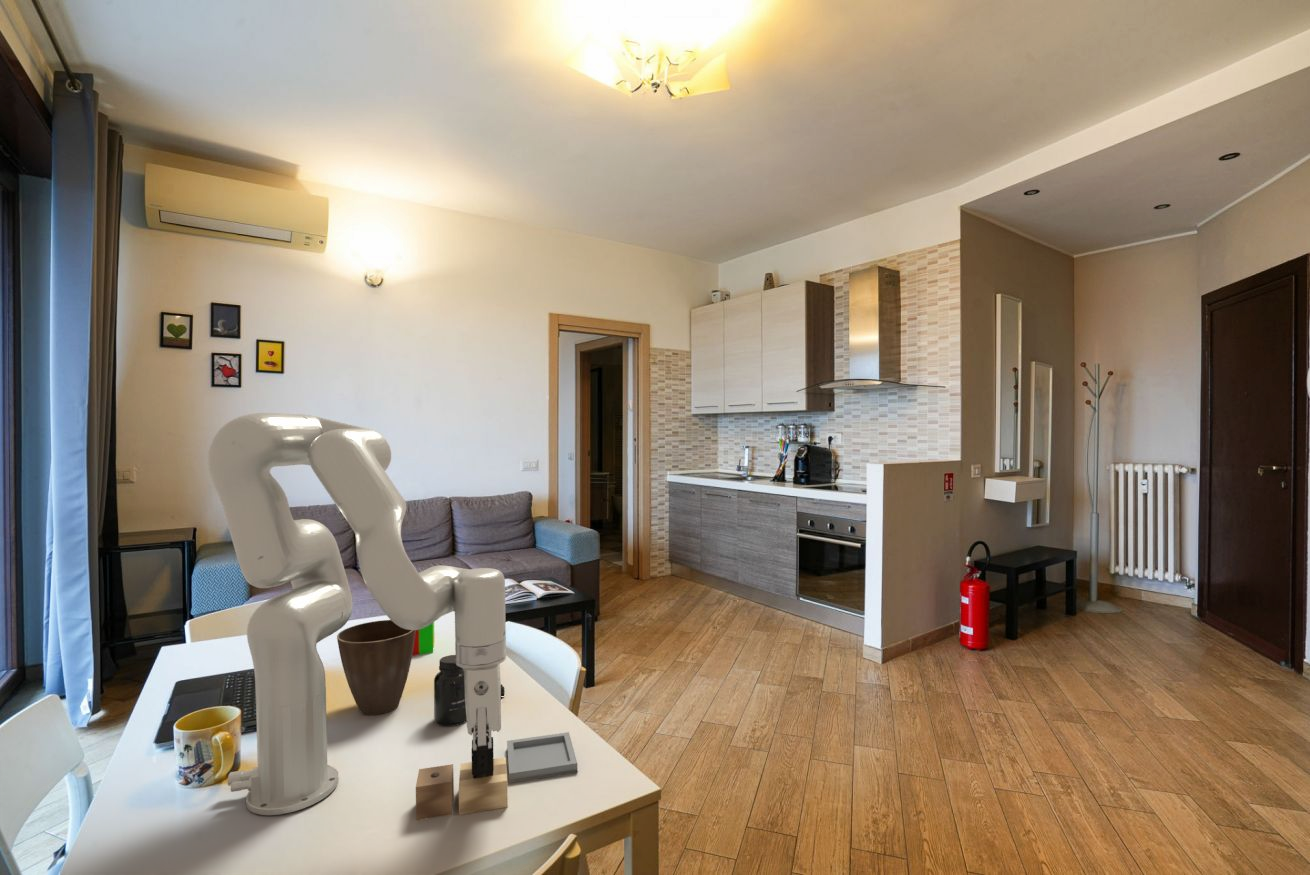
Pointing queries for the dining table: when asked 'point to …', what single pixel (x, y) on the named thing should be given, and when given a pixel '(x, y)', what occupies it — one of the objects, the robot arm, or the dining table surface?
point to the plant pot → (376, 663)
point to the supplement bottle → (449, 693)
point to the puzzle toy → (424, 640)
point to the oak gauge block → (483, 788)
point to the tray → (540, 757)
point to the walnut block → (434, 792)
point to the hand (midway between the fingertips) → (482, 767)
